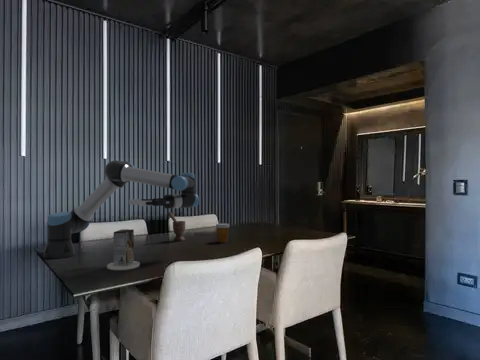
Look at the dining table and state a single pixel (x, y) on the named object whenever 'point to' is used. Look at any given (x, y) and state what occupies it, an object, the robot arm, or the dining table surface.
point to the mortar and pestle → (178, 228)
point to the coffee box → (123, 247)
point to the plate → (130, 266)
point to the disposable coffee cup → (222, 232)
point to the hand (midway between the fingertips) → (133, 202)
